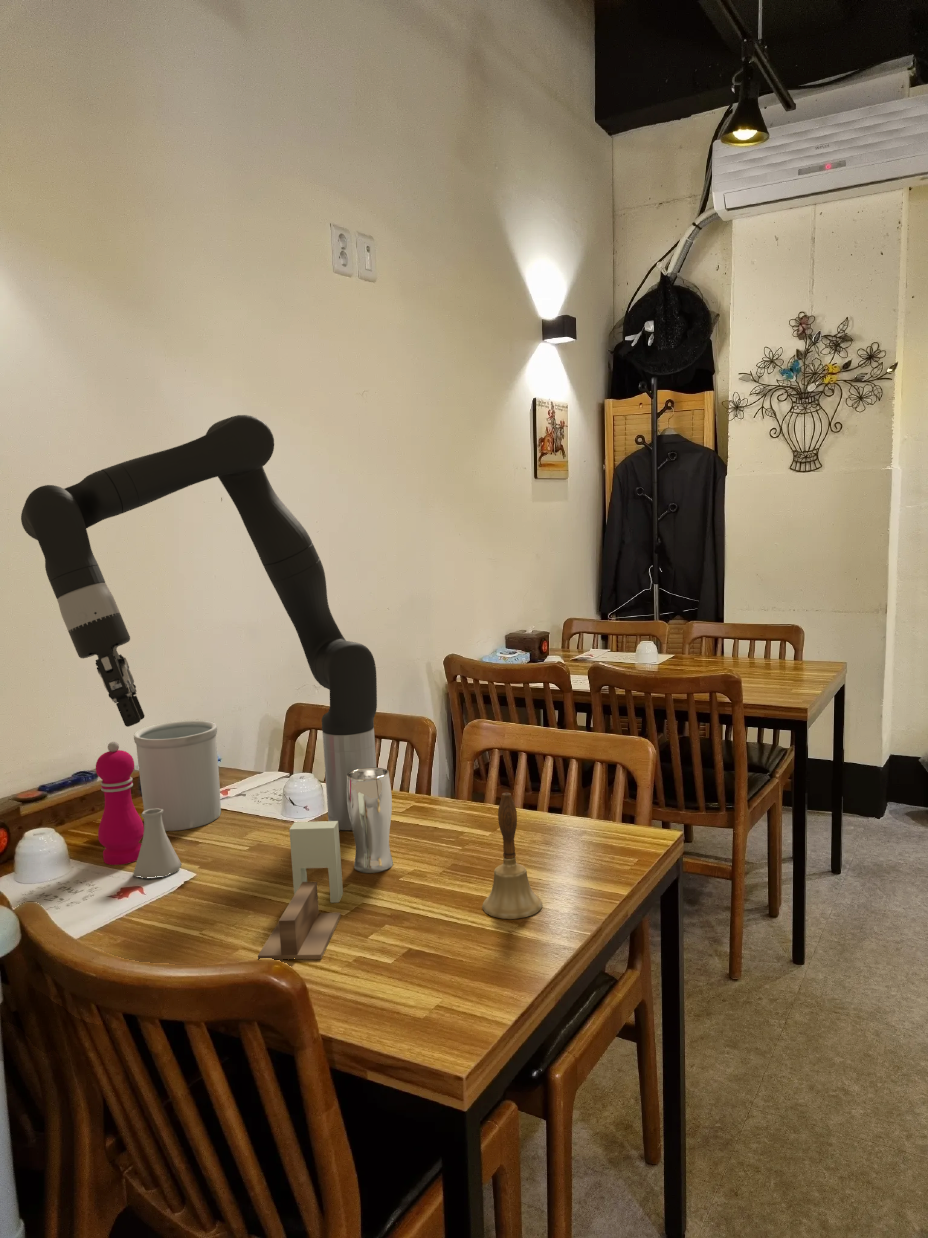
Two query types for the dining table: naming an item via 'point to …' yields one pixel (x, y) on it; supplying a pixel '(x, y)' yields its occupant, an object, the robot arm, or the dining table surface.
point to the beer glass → (370, 818)
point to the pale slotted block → (317, 853)
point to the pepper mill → (118, 808)
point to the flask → (155, 848)
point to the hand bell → (510, 873)
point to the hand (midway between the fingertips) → (136, 722)
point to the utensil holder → (180, 772)
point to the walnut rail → (301, 928)
